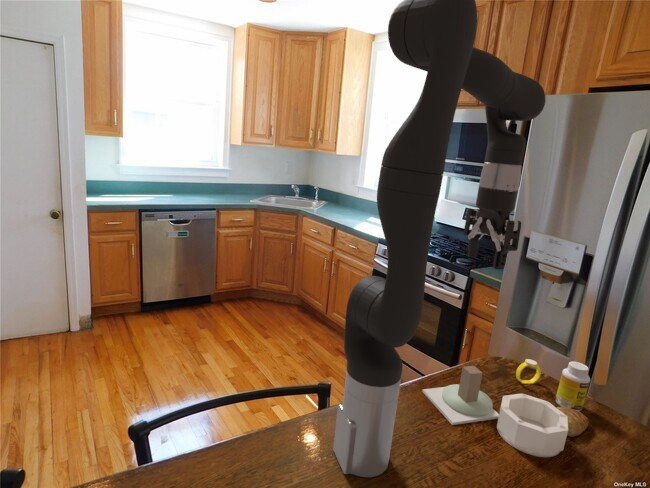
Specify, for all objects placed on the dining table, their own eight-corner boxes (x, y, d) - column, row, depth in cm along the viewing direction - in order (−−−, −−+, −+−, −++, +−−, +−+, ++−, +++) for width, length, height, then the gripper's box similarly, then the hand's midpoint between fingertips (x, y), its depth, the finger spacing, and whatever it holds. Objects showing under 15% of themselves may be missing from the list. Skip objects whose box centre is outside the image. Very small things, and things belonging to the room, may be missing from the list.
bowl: (526, 461, 79) (532, 436, 78) (484, 420, 90) (489, 397, 89) (575, 452, 83) (582, 427, 82) (530, 413, 94) (535, 391, 93)
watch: (532, 380, 109) (539, 359, 108) (539, 386, 106) (546, 365, 105) (511, 379, 108) (517, 357, 106) (518, 385, 105) (524, 363, 104)
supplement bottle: (574, 415, 95) (585, 374, 93) (550, 402, 99) (559, 362, 97) (586, 408, 98) (597, 368, 96) (562, 395, 103) (572, 357, 100)
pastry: (567, 412, 96) (571, 397, 95) (596, 431, 90) (601, 416, 90) (538, 420, 92) (542, 405, 91) (567, 441, 86) (571, 425, 85)
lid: (460, 419, 89) (466, 385, 87) (432, 389, 99) (437, 359, 97) (502, 413, 92) (509, 381, 91) (472, 385, 102) (477, 355, 100)
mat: (452, 425, 88) (452, 422, 88) (422, 391, 99) (422, 389, 99) (500, 418, 92) (500, 415, 91) (466, 386, 103) (466, 384, 102)
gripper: (462, 181, 92) (450, 253, 96) (507, 190, 79) (491, 273, 83) (491, 182, 95) (478, 253, 99) (539, 192, 82) (522, 273, 85)
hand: (484, 262), depth 91 cm, fingers open, 8 cm apart
